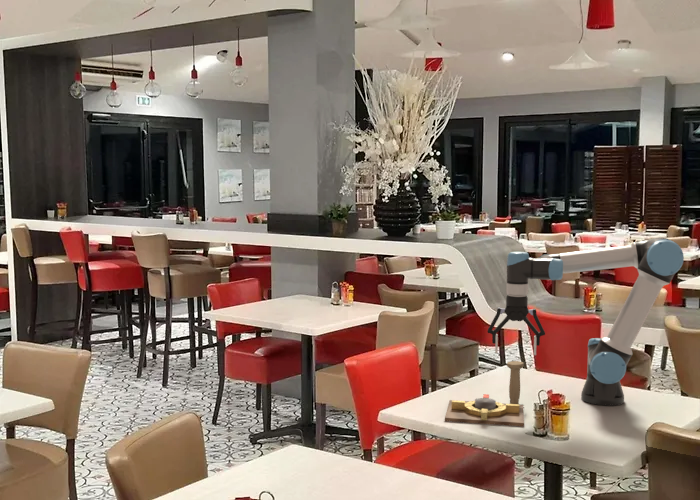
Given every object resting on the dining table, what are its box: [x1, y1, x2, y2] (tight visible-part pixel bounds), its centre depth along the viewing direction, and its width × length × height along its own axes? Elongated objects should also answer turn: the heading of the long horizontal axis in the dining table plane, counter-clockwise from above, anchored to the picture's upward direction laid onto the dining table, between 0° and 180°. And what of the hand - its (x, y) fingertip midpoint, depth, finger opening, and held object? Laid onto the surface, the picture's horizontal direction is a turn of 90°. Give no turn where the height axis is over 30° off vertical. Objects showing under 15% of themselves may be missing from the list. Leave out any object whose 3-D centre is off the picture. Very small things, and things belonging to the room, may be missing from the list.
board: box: [444, 397, 525, 428], centre depth 280 cm, size 26×22×5 cm
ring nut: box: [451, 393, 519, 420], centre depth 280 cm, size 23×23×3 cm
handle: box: [506, 360, 525, 404], centre depth 294 cm, size 5×6×15 cm
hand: (515, 353), depth 292 cm, fingers open, 13 cm apart
